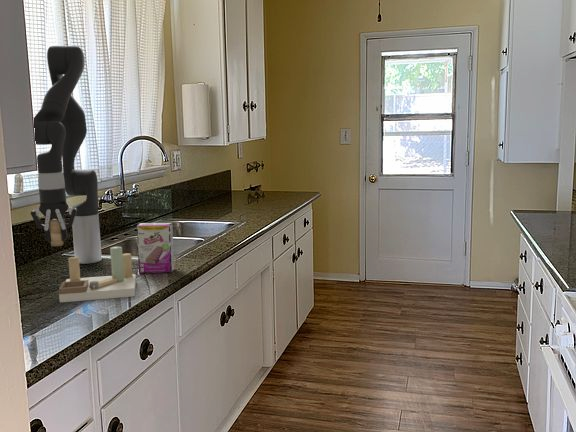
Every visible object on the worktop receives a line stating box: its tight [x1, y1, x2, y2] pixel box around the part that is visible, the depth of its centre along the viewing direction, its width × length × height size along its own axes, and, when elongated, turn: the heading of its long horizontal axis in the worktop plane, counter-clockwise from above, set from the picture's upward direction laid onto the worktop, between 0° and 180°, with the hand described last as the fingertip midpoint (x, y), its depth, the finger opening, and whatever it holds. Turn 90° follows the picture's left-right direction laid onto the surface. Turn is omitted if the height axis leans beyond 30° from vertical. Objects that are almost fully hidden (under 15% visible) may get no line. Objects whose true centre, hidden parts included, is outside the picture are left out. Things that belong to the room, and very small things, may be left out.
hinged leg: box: [89, 246, 124, 289], centre depth 172 cm, size 12×3×10 cm, turn 148°
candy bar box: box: [136, 222, 175, 274], centre depth 194 cm, size 11×5×16 cm, turn 92°
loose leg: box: [49, 219, 64, 247], centre depth 181 cm, size 4×4×8 cm
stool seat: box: [58, 253, 137, 303], centre depth 173 cm, size 16×21×9 cm
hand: (56, 240), depth 181 cm, fingers closed on loose leg, 3 cm apart
